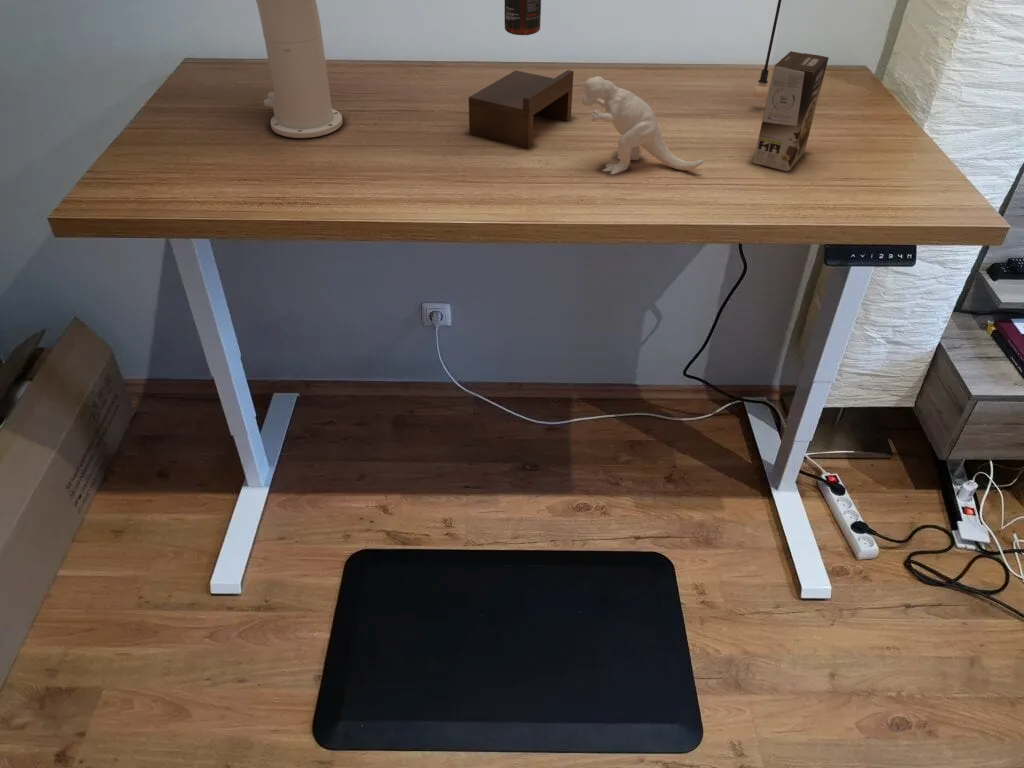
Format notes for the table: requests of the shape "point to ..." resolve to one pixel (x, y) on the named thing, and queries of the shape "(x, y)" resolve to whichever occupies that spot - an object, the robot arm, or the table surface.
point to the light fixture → (762, 88)
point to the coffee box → (790, 110)
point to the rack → (519, 106)
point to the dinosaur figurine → (630, 125)
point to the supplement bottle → (522, 16)
